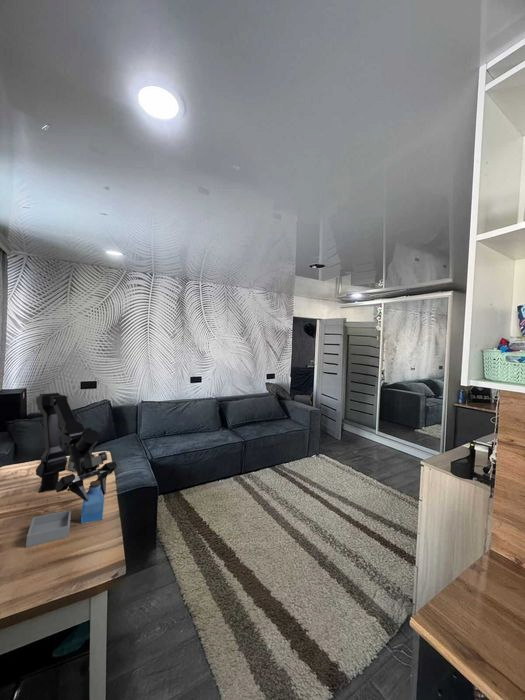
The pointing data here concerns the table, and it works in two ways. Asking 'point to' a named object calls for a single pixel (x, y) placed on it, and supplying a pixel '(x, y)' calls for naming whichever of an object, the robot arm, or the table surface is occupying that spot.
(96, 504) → the perfume bottle
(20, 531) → the table surface
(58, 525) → the tray
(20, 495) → the table surface
